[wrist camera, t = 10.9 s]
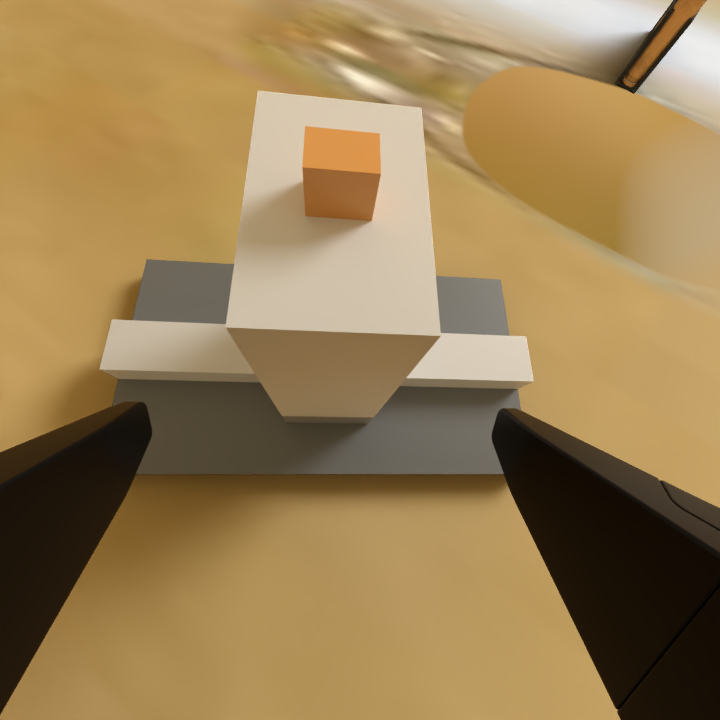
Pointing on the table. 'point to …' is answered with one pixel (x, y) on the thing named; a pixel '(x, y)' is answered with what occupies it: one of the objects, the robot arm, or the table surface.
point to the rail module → (334, 256)
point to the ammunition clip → (659, 42)
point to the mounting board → (308, 440)
